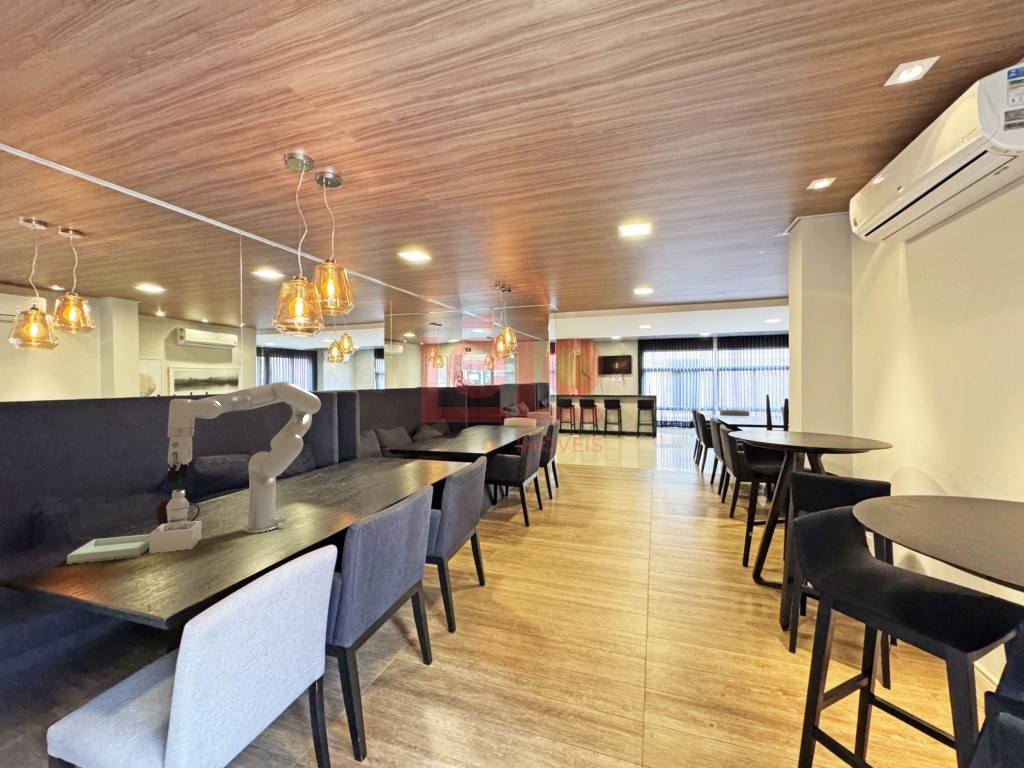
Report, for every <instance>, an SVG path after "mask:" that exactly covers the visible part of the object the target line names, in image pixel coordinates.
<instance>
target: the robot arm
mask: <svg viewBox="0 0 1024 768" xmlns="http://www.w3.org/2000/svg"><path fill="white" fill-rule="evenodd" d="M321 402H322V401H321V400H320V398H319V397H318V396H317V395H315V394H313V393H312V392H309V391H307V390H305V389H303V388H302V387H299V386H298V385H295V384H294V383H292V382H288V381H277V382H272V383H268V384H262V385H258V386H254V387H249V388H243V389H241V390H240V389H239V390H235V391H231V392H228V393H223V394H222V393H221V394H218V395H214V396H209V397H208V396H207V397H204V398H200V399H190V398H173V399H171V400H170V401H169V409H168V410H169V411H168V421H167V423H168V425H167V438H169V444H168V453H167V463H168V465H167V466H168V468H167V479H166V480H167V481H166V482H167V483H179V481H180V478H187V477H189V464H190V462H191V461H192V459H193V437H194V435H195V422H196V421H195V419H196V418H197V419H206V420H207V419H208V420H211V419H215V418H217V417H219V416H220V415H221V414H224V413H229V412H236V411H248V410H254V409H257V408H261V407H266V406H269V405H274V404H278V403H285V404H287V405H289V406H291V410H292V414H291V418H290V420H289V421H288V422H287V423H286V424H285V425H284V426H283V427H282V428H281V430H280V431H279V432H278V433H277V434H276V435H274V437H272V438H271V441H270V449H271V450H270V451H269V452H268V451H259V452H257V453H255V454H253V455H252V456H251V457H250V460H249V462H248V476H249V477H248V479H249V488H248V489H249V490H248V491H249V492H248V511H247V513H248V514H247V525H244V526H243V528H242V531H243V532H244V533H246V532H247V534H258V533H259V532H261V533H265V531H267V532H270V531H269V530H271V531H273V530H272V529H274V530H276V529H278V528H277V527H279V524H283V523H284V524H285V523H287V519H288V517H284V516H283V517H279V516H278V517H277V514H276V495H277V491H276V490H277V477H278V476H281V474H282V473H283V472H285V470H286V469H287V468H288V467H289V466H290V465H291V464H292V463H293V462H294V460H296V458H297V457H298V456H299V455H300V453H301V452H302V450H303V447H304V439H303V437H304V435H305V434H306V433H307V432H308V431H309V429H310V428H311V426H312V422H313V415H314V414H317V412H319V411H320V409H321V407H322V403H321ZM275 528H276V529H275ZM259 534H260V533H259Z"/></svg>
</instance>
